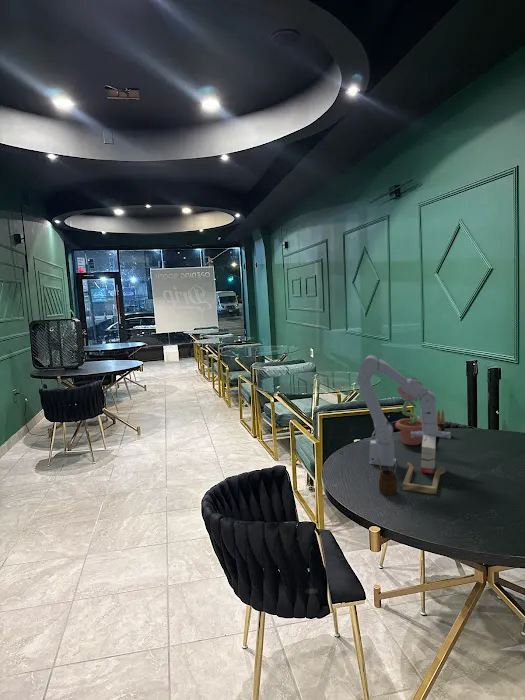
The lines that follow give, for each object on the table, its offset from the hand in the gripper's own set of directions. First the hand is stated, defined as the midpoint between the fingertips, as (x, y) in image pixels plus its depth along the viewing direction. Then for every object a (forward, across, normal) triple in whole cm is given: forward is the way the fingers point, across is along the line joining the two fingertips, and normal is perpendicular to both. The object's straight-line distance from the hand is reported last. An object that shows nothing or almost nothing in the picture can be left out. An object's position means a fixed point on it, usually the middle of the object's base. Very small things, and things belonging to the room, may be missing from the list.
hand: (432, 455), depth 178 cm
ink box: (+3, +1, +4) cm, 6 cm away
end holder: (+4, +2, +15) cm, 16 cm away
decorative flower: (+4, +12, -26) cm, 29 cm away
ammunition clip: (+6, +3, -43) cm, 44 cm away
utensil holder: (+3, +13, +29) cm, 32 cm away
